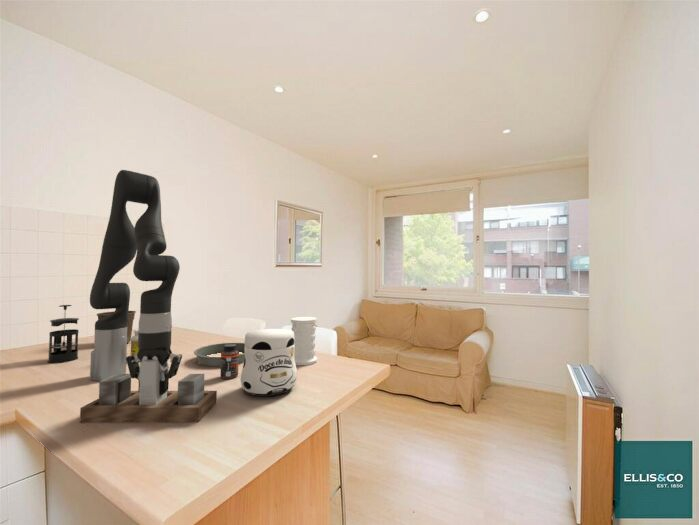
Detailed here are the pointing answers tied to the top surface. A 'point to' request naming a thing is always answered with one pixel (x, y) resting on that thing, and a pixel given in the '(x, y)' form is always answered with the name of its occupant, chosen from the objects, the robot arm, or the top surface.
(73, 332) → the french press
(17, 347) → the top surface
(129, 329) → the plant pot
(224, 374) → the supplement bottle
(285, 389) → the milk container
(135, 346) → the supplement bottle
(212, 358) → the cake pan
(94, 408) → the wooden slotted rack
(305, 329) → the decorative container
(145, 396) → the skincare box
